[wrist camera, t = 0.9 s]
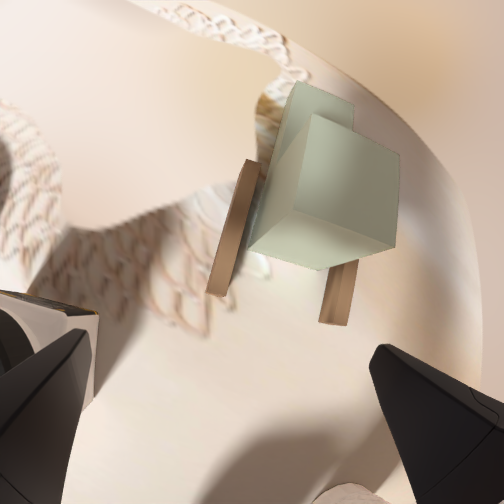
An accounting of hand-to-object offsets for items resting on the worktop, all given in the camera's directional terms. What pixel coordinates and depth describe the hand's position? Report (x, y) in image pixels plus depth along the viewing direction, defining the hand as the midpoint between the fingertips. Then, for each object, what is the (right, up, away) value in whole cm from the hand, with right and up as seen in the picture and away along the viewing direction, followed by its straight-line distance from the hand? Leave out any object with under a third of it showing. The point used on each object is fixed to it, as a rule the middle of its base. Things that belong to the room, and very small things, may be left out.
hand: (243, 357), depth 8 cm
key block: (+5, +10, +17) cm, 20 cm away
